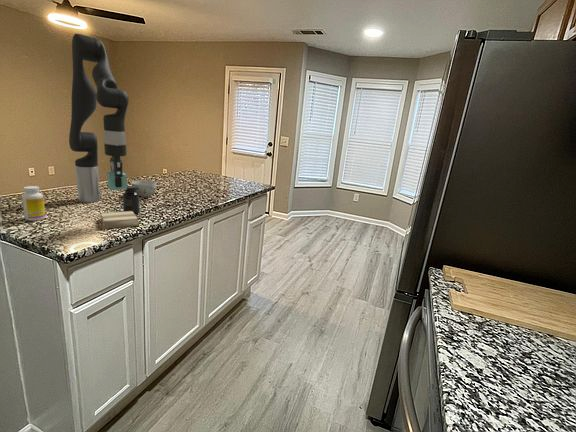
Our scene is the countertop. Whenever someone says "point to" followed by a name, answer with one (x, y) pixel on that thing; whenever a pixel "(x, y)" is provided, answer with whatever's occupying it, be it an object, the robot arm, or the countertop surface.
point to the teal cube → (112, 181)
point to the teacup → (145, 187)
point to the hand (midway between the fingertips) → (117, 185)
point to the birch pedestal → (119, 219)
